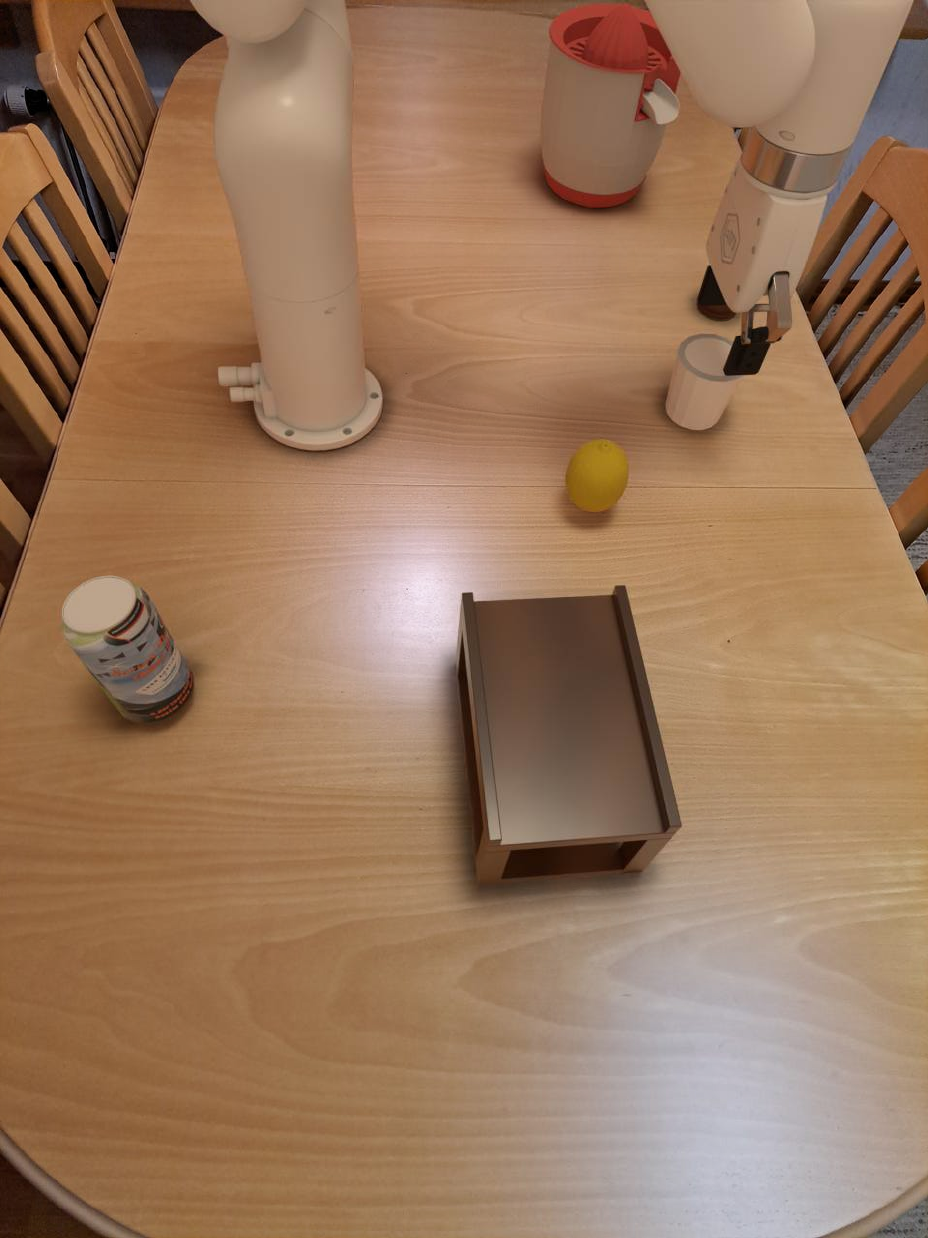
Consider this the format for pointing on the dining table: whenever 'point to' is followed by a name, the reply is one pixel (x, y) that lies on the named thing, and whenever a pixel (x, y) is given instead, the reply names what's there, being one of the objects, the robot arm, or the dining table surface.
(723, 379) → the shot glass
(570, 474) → the lemon
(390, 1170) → the dining table surface
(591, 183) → the citrus juicer
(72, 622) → the beverage can
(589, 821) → the rack
